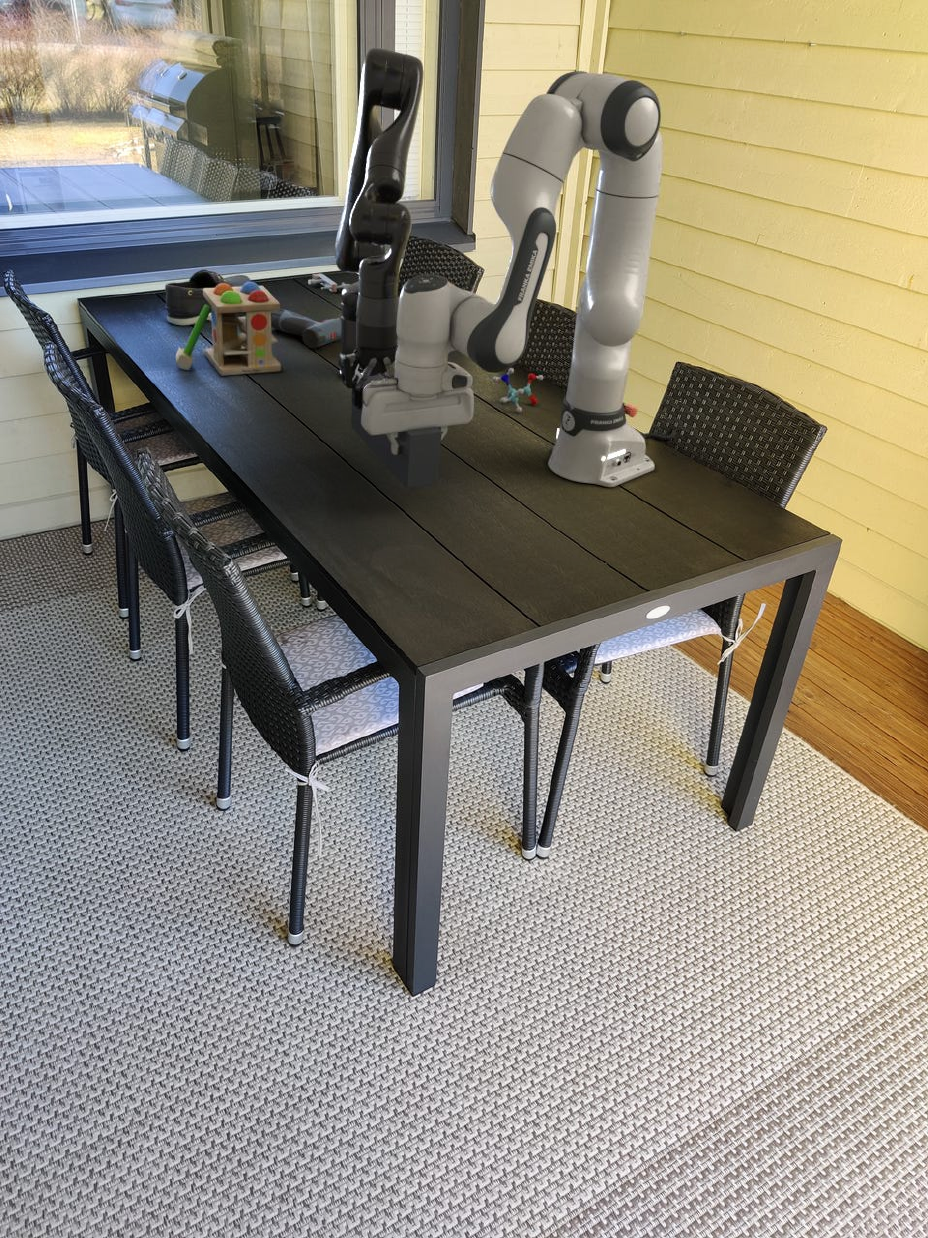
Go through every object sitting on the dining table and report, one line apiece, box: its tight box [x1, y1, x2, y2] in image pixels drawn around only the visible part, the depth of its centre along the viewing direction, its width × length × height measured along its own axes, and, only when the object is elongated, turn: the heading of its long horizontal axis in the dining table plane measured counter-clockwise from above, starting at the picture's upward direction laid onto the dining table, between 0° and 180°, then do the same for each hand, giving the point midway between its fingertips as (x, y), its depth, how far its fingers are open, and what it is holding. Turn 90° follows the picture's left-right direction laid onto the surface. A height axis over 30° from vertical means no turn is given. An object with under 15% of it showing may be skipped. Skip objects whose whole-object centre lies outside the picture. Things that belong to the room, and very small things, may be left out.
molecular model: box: [492, 367, 544, 413], centre depth 223 cm, size 12×10×10 cm
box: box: [350, 374, 442, 489], centre depth 181 cm, size 27×6×10 cm, turn 27°
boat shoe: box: [164, 269, 253, 326], centre depth 260 cm, size 13×33×10 cm, turn 147°
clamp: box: [307, 273, 350, 293], centre depth 287 cm, size 15×2×10 cm
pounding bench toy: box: [174, 281, 282, 377], centre depth 225 cm, size 23×14×18 cm, turn 116°
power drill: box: [271, 308, 341, 349], centre depth 252 cm, size 5×19×20 cm
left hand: (374, 405), depth 188 cm, fingers closed on box, 6 cm apart
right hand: (415, 450), depth 174 cm, fingers closed on box, 6 cm apart
